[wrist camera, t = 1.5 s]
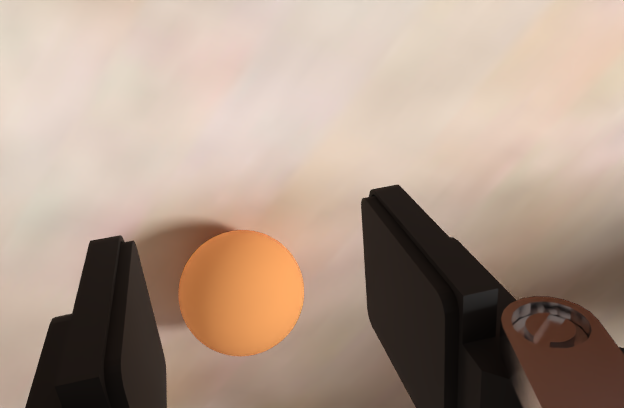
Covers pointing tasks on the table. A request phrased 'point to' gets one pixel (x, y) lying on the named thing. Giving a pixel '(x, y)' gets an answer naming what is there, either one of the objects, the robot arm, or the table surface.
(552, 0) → the table surface
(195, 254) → the ball
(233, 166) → the table surface
